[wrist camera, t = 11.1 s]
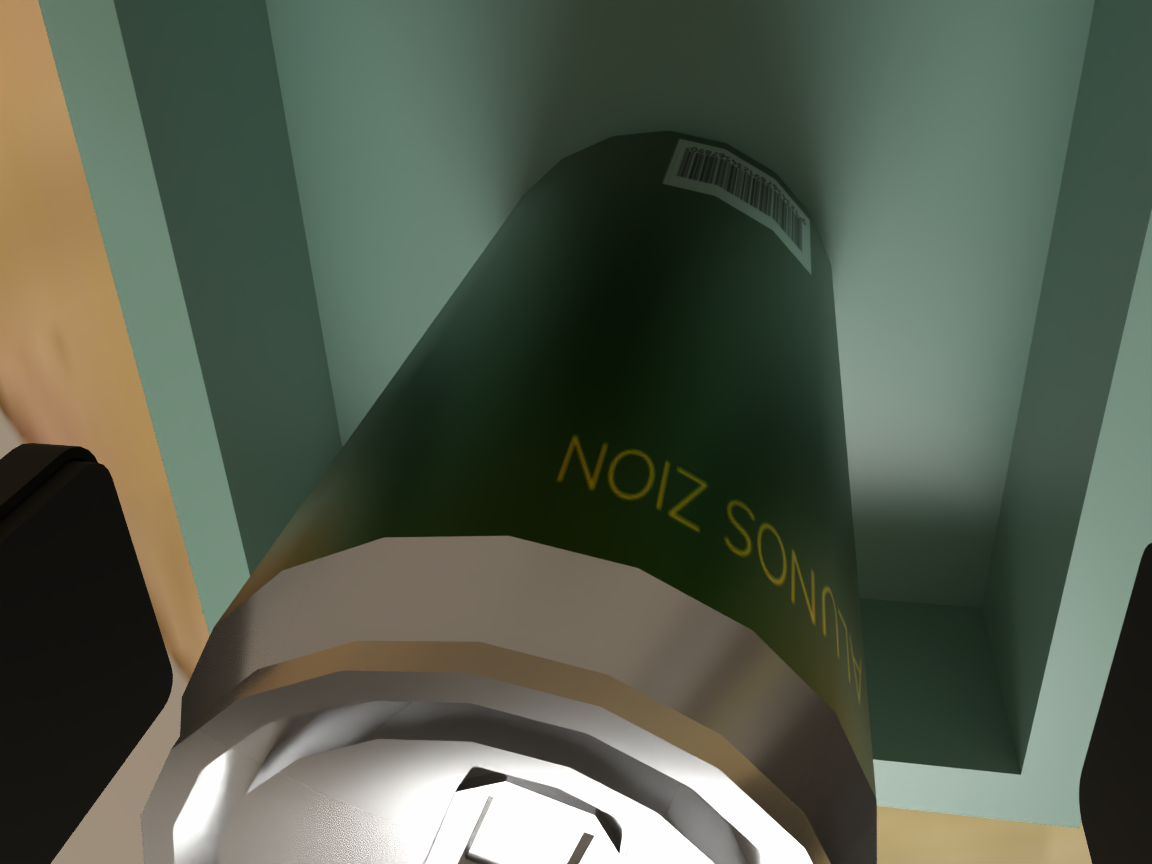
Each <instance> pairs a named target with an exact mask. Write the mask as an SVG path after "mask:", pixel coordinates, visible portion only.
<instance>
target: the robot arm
mask: <svg viewBox="0 0 1152 864" xmlns="http://www.w3.org/2000/svg"><path fill="white" fill-rule="evenodd" d="M172 679H173V674H172V668H171V664H170V661H169V658H168V654H167V651H166V648H165V645H164V642H163V639H162V635H161V632H160V629H159V626H158V623H157V619H156V616H155V613H154V610H153V607H152V604H151V600H150V597H149V594H148V591H147V588H146V584H145V581H144V578H143V575H142V572H141V568H140V565H139V562H138V559H137V556H136V553H135V549H134V546H133V543H132V540H131V537H130V533H129V530H128V527H127V524H126V521H125V517H124V514H123V511H122V508H121V505H120V502H119V498H118V495H117V492H116V489H115V486H114V482H113V479H112V477H111V474H110V472H109V470H108V469H107V468H106V467H105V466H104V465H102V464H99V463H98V462H97V460H96V458H95V456H94V455H93V454H92V453H91V452H90V451H89V450H87V449H85V448H82V447H78V446H64V445H50V444H36V443H29V444H22V445H20V446H18V447H16V448H15V449H13V450H12V451H11V452H9V453H8V454H7V455H5V456H4V457H3V458H2V459H0V864H51V862H52V861H53V859H54V858H55V856H56V855H57V854H58V853H59V851H60V850H61V848H62V847H63V846H64V844H65V843H66V842H67V840H68V839H69V837H70V836H71V835H72V833H73V832H74V831H75V829H76V828H77V826H78V825H79V824H80V822H81V821H82V820H83V818H84V816H85V815H86V814H87V813H88V811H89V810H90V809H91V807H92V806H93V804H94V803H95V802H96V800H97V799H98V797H99V796H100V795H101V793H102V792H103V791H104V789H105V788H106V786H107V785H108V784H109V782H110V781H111V780H112V778H113V777H114V775H115V774H116V773H117V771H118V770H119V769H120V767H121V766H122V764H123V763H124V762H125V760H126V759H127V758H128V756H129V755H130V753H131V752H132V750H133V749H134V748H135V746H136V745H137V744H138V742H139V741H140V740H141V738H142V737H143V735H144V734H145V733H146V731H147V730H148V729H149V727H150V726H151V725H152V723H153V722H154V720H155V719H156V717H157V716H158V715H159V714H160V712H161V711H162V709H163V708H164V706H165V704H166V703H167V701H168V698H169V695H170V693H171V688H172V681H173V680H172ZM1079 806H1080V815H1081V820H1082V824H1083V828H1084V832H1085V836H1086V840H1087V844H1088V848H1089V852H1090V856H1091V860H1092V864H1152V543H1150V544H1148V545H1147V547H1146V548H1145V550H1144V552H1143V555H1142V558H1141V561H1140V564H1139V568H1138V571H1137V575H1136V579H1135V582H1134V586H1133V589H1132V593H1131V597H1130V600H1129V604H1128V607H1127V611H1126V614H1125V618H1124V622H1123V625H1122V629H1121V632H1120V636H1119V639H1118V643H1117V647H1116V650H1115V654H1114V657H1113V661H1112V664H1111V668H1110V672H1109V675H1108V679H1107V682H1106V686H1105V689H1104V693H1103V697H1102V700H1101V704H1100V707H1099V711H1098V714H1097V718H1096V722H1095V725H1094V729H1093V732H1092V736H1091V740H1090V743H1089V747H1088V750H1087V754H1086V757H1085V761H1084V765H1083V768H1082V772H1081V777H1080V784H1079Z"/></svg>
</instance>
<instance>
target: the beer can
mask: <svg viewBox="0 0 1152 864" xmlns="http://www.w3.org/2000/svg"><path fill="white" fill-rule="evenodd" d="M141 827H142V843H143V858H144V864H877V804H876V788H875V776H874V764H873V753H872V741H871V729H870V717H869V705H868V693H867V682H866V670H865V658H864V646H863V634H862V623H861V611H860V599H859V587H858V575H857V563H856V552H855V540H854V528H853V516H852V504H851V492H850V481H849V469H848V457H847V445H846V433H845V422H844V410H843V398H842V386H841V374H840V362H839V351H838V339H837V327H836V315H835V303H834V292H833V280H832V268H831V263H830V260H829V258H828V255H827V253H826V250H825V247H824V245H823V242H822V240H821V237H820V235H819V232H818V229H817V227H816V224H815V222H814V219H813V217H812V214H811V213H810V212H809V211H808V210H807V209H806V207H805V206H804V205H803V204H802V203H801V202H800V200H799V199H798V198H797V197H796V196H795V195H794V193H793V192H792V191H791V190H790V189H789V188H788V186H787V185H786V184H785V183H784V182H783V181H782V179H781V178H780V177H779V176H778V175H777V174H776V172H774V171H772V170H771V169H769V168H767V167H766V166H764V165H762V164H761V163H759V162H757V161H756V160H754V159H752V158H750V157H749V156H747V155H745V154H744V153H742V152H740V151H739V150H737V149H735V148H734V147H732V146H730V145H729V144H727V143H724V142H719V141H715V140H710V139H706V138H701V137H697V136H692V135H688V134H684V133H679V132H675V131H670V130H668V131H658V132H648V133H638V134H628V135H618V136H612V137H609V138H607V139H605V140H603V141H600V142H598V143H596V144H594V145H591V146H589V147H587V148H585V149H583V150H580V151H578V152H576V153H574V154H571V155H569V156H567V157H565V158H562V159H561V160H560V161H559V162H558V163H557V164H556V165H555V166H554V167H553V168H552V169H551V170H550V171H549V172H548V173H546V174H545V175H544V176H543V177H542V178H541V179H540V180H539V181H538V182H537V183H536V184H535V185H534V186H533V187H532V188H530V189H529V190H528V191H527V192H526V193H525V194H524V195H523V197H522V198H521V199H520V201H519V202H518V204H517V205H516V206H515V208H514V209H513V211H512V212H511V213H510V215H509V216H508V218H507V219H506V220H505V222H504V223H503V225H502V226H501V227H500V229H499V230H498V232H497V233H496V234H495V236H494V237H493V238H492V240H491V241H490V243H489V244H488V245H487V247H486V248H485V250H484V251H483V252H482V254H481V255H480V257H479V258H478V259H477V261H476V262H475V264H474V265H473V266H472V268H471V269H470V271H469V272H468V273H467V275H466V276H465V278H464V279H463V280H462V282H461V283H460V285H459V286H458V287H457V289H456V290H455V291H454V293H453V294H452V296H451V297H450V298H449V300H448V301H447V303H446V304H445V305H444V307H443V308H442V310H441V311H440V312H439V314H438V315H437V317H436V318H435V319H434V321H433V322H432V324H431V325H430V326H429V328H428V329H427V331H426V332H425V333H424V335H423V336H422V338H421V339H420V340H419V342H418V343H417V344H416V346H415V347H414V349H413V350H412V351H411V353H410V354H409V356H408V357H407V358H406V360H405V361H404V363H403V364H402V365H401V367H400V368H399V370H398V371H397V372H396V374H395V375H394V377H393V378H392V379H391V381H390V382H389V384H388V385H387V386H386V388H385V389H384V391H383V392H382V393H381V395H380V396H379V397H378V399H377V400H376V402H375V403H374V404H373V406H372V407H371V409H370V410H369V411H368V413H367V414H366V416H365V417H364V418H363V420H362V421H361V423H360V424H359V425H358V427H357V428H356V430H355V431H354V432H353V434H352V435H351V437H350V438H349V439H348V441H347V442H346V444H345V445H344V446H343V448H342V449H341V450H340V452H339V453H338V455H337V456H336V457H335V459H334V460H333V462H332V463H331V464H330V466H329V467H328V469H327V470H326V471H325V473H324V474H323V476H322V477H321V478H320V480H319V481H318V483H317V484H316V485H315V487H314V488H313V490H312V491H311V492H310V494H309V495H308V497H307V498H306V499H305V501H304V502H303V503H302V505H301V506H300V508H299V509H298V510H297V512H296V513H295V515H294V516H293V517H292V519H291V520H290V522H289V523H288V524H287V526H286V527H285V529H284V530H283V531H282V533H281V534H280V536H279V537H278V538H277V540H276V541H275V543H274V544H273V545H272V547H271V548H270V550H269V551H268V552H267V554H266V555H265V556H264V558H263V559H262V561H261V562H260V563H259V565H258V566H257V568H256V569H255V570H254V572H253V573H252V575H251V576H250V577H249V579H248V580H247V582H246V583H245V584H244V586H243V587H242V589H241V590H240V591H239V593H238V594H237V596H236V597H235V598H234V600H233V601H232V603H231V604H230V605H229V607H228V608H227V609H226V611H225V612H224V614H223V615H222V616H221V618H220V619H219V621H218V622H217V623H216V625H215V626H214V628H213V630H212V632H211V634H210V637H209V639H208V641H207V643H206V645H205V648H204V650H203V652H202V654H201V657H200V659H199V661H198V663H197V665H196V668H195V670H194V672H193V674H192V676H191V679H190V681H189V683H188V685H187V687H186V690H185V692H184V694H183V696H182V708H181V730H180V737H179V739H178V740H177V742H176V743H175V745H174V746H173V748H172V749H171V751H170V753H169V755H168V757H167V760H166V762H165V764H164V766H163V768H162V770H161V772H160V775H159V777H158V779H157V781H156V783H155V786H154V787H153V790H152V792H151V794H150V796H149V798H148V800H147V803H146V805H145V807H144V809H143V811H142V813H141Z"/></svg>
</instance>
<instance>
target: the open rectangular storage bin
mask: <svg viewBox="0 0 1152 864" xmlns="http://www.w3.org/2000/svg"><path fill="white" fill-rule="evenodd" d="M38 1H39V5H40V8H41V12H42V16H43V20H44V23H45V27H46V31H47V34H48V38H49V42H50V46H51V49H52V53H53V57H54V60H55V64H56V68H57V72H58V75H59V79H60V83H61V86H62V90H63V94H64V97H65V101H66V105H67V109H68V112H69V116H70V120H71V123H72V127H73V131H74V135H75V138H76V142H77V146H78V149H79V153H80V157H81V161H82V164H83V168H84V172H85V175H86V179H87V183H88V186H89V190H90V194H91V198H92V201H93V205H94V209H95V212H96V216H97V220H98V224H99V227H100V231H101V235H102V238H103V242H104V246H105V250H106V253H107V257H108V261H109V264H110V268H111V272H112V276H113V279H114V283H115V287H116V290H117V294H118V298H119V301H120V305H121V309H122V313H123V316H124V320H125V324H126V327H127V331H128V335H129V339H130V342H131V346H132V350H133V353H134V357H135V361H136V365H137V368H138V372H139V376H140V379H141V383H142V387H143V390H144V394H145V398H146V402H147V405H148V409H149V413H150V416H151V420H152V424H153V428H154V431H155V435H156V439H157V442H158V446H159V450H160V454H161V457H162V461H163V465H164V468H165V472H166V476H167V480H168V483H169V487H170V491H171V494H172V498H173V502H174V505H175V509H176V513H177V517H178V520H179V524H180V528H181V531H182V535H183V539H184V543H185V546H186V550H187V554H188V557H189V561H190V565H191V569H192V572H193V576H194V580H195V583H196V587H197V591H198V594H199V598H200V602H201V606H202V609H203V613H204V617H205V620H206V624H207V628H208V632H209V635H210V634H211V632H212V630H213V628H214V626H215V625H216V623H217V622H218V621H219V619H220V618H221V616H222V615H223V614H224V612H225V611H226V609H227V608H228V607H229V605H230V604H231V603H232V601H233V600H234V598H235V597H236V596H237V594H238V593H239V591H240V590H241V589H242V587H243V586H244V584H245V583H246V582H247V580H248V579H249V577H250V576H251V575H252V573H253V572H254V570H255V569H256V568H257V566H258V565H259V563H260V562H261V561H262V559H263V558H264V556H265V555H266V554H267V552H268V551H269V550H270V548H271V547H272V545H273V544H274V543H275V541H276V540H277V538H278V537H279V536H280V534H281V533H282V531H283V530H284V529H285V527H286V526H287V524H288V523H289V522H290V520H291V519H292V517H293V516H294V515H295V513H296V512H297V510H298V509H299V508H300V506H301V505H302V503H303V502H304V501H305V499H306V498H307V497H308V495H309V494H310V492H311V491H312V490H313V488H314V487H315V485H316V484H317V483H318V481H319V480H320V478H321V477H322V476H323V474H324V473H325V471H326V470H327V469H328V467H329V466H330V464H331V463H332V462H333V460H334V459H335V457H336V456H337V455H338V453H339V452H340V450H341V449H342V448H343V446H344V445H345V444H346V442H347V441H348V439H349V438H350V437H351V435H352V434H353V432H354V431H355V430H356V428H357V427H358V425H359V424H360V423H361V421H362V420H363V418H364V417H365V416H366V414H367V413H368V411H369V410H370V409H371V407H372V406H373V404H374V403H375V402H376V400H377V399H378V397H379V396H380V395H381V393H382V392H383V391H384V389H385V388H386V386H387V385H388V384H389V382H390V381H391V379H392V378H393V377H394V375H395V374H396V372H397V371H398V370H399V368H400V367H401V365H402V364H403V363H404V361H405V360H406V358H407V357H408V356H409V354H410V353H411V351H412V350H413V349H414V347H415V346H416V344H417V343H418V342H419V340H420V339H421V338H422V336H423V335H424V333H425V332H426V331H427V329H428V328H429V326H430V325H431V324H432V322H433V321H434V319H435V318H436V317H437V315H438V314H439V312H440V311H441V310H442V308H443V307H444V305H445V304H446V303H447V301H448V300H449V298H450V297H451V296H452V294H453V293H454V291H455V290H456V289H457V287H458V286H459V285H460V283H461V282H462V280H463V279H464V278H465V276H466V275H467V273H468V272H469V271H470V269H471V268H472V266H473V265H474V264H475V262H476V261H477V259H478V258H479V257H480V255H481V254H482V252H483V251H484V250H485V248H486V247H487V245H488V244H489V243H490V241H491V240H492V238H493V237H494V236H495V234H496V233H497V232H498V230H499V229H500V227H501V226H502V225H503V223H504V222H505V220H506V219H507V218H508V216H509V215H510V213H511V212H512V211H513V209H514V208H515V206H516V205H517V204H518V202H519V201H520V199H521V198H522V197H523V195H524V194H525V193H526V192H527V191H528V190H529V189H530V188H532V187H533V186H534V185H535V184H536V183H537V182H538V181H539V180H540V179H541V178H542V177H543V176H544V175H545V174H546V173H548V172H549V171H550V170H551V169H552V168H553V167H554V166H555V165H556V164H557V163H558V162H559V161H560V160H561V159H562V158H565V157H567V156H569V155H571V154H574V153H576V152H578V151H580V150H583V149H585V148H587V147H589V146H591V145H594V144H596V143H598V142H600V141H603V140H605V139H607V138H609V137H612V136H618V135H628V134H638V133H648V132H658V131H668V130H670V131H675V132H679V133H684V134H688V135H692V136H697V137H701V138H706V139H710V140H715V141H719V142H724V143H727V144H729V145H730V146H732V147H734V148H735V149H737V150H739V151H740V152H742V153H744V154H745V155H747V156H749V157H750V158H752V159H754V160H756V161H757V162H759V163H761V164H762V165H764V166H766V167H767V168H769V169H771V170H772V171H774V172H776V174H777V175H778V176H779V177H780V178H781V179H782V181H783V182H784V183H785V184H786V185H787V186H788V188H789V189H790V190H791V191H792V192H793V193H794V195H795V196H796V197H797V198H798V199H799V200H800V202H801V203H802V204H803V205H804V206H805V207H806V209H807V210H808V211H809V212H810V213H811V214H812V217H813V219H814V222H815V224H816V227H817V229H818V232H819V235H820V237H821V240H822V242H823V245H824V247H825V250H826V253H827V255H828V258H829V260H830V263H831V268H832V280H833V292H834V303H835V315H836V327H837V339H838V351H839V362H840V374H841V386H842V398H843V410H844V422H845V433H846V445H847V457H848V469H849V481H850V492H851V504H852V516H853V528H854V540H855V552H856V563H857V575H858V587H859V599H860V611H861V623H862V634H863V646H864V658H865V670H866V682H867V693H868V705H869V717H870V729H871V741H872V753H873V764H874V776H875V788H876V804H877V806H884V807H893V808H901V809H910V810H919V811H928V812H937V813H946V814H955V815H964V816H973V817H982V818H991V819H1000V820H1009V821H1018V822H1027V823H1036V824H1045V825H1054V826H1062V827H1071V828H1079V827H1080V823H1081V815H1080V806H1079V784H1080V777H1081V772H1082V768H1083V765H1084V761H1085V757H1086V754H1087V750H1088V747H1089V743H1090V740H1091V736H1092V732H1093V729H1094V725H1095V722H1096V718H1097V714H1098V711H1099V707H1100V704H1101V700H1102V697H1103V693H1104V689H1105V686H1106V682H1107V679H1108V675H1109V672H1110V668H1111V664H1112V661H1113V657H1114V654H1115V650H1116V647H1117V643H1118V639H1119V636H1120V632H1121V629H1122V625H1123V622H1124V618H1125V614H1126V611H1127V607H1128V604H1129V600H1130V597H1131V593H1132V589H1133V586H1134V582H1135V579H1136V575H1137V571H1138V568H1139V564H1140V561H1141V558H1142V555H1143V552H1144V550H1145V548H1146V547H1147V545H1148V544H1150V543H1152V0H38Z"/></svg>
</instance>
